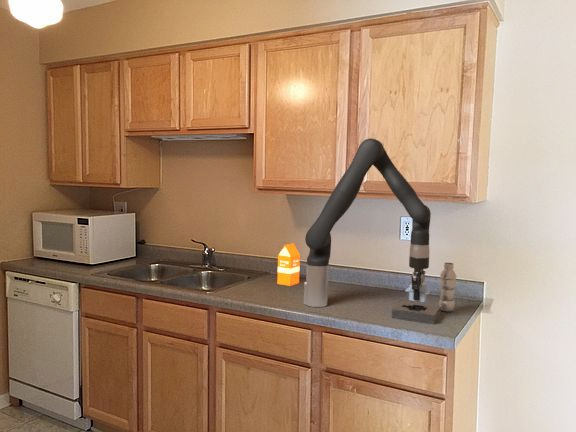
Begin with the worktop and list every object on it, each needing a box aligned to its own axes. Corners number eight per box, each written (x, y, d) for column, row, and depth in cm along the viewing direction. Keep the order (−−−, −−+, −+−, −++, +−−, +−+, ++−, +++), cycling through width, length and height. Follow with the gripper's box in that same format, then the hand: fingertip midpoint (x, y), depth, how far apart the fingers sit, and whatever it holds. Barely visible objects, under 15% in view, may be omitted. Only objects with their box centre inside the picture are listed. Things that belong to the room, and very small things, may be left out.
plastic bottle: (454, 309, 206) (456, 262, 204) (455, 313, 199) (457, 265, 197) (438, 308, 207) (440, 261, 206) (438, 312, 201) (441, 264, 199)
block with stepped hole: (391, 317, 191) (392, 309, 191) (400, 309, 204) (401, 301, 203) (433, 324, 184) (434, 315, 184) (440, 315, 196) (440, 306, 196)
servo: (405, 299, 194) (405, 281, 193) (407, 297, 197) (408, 279, 197) (428, 302, 189) (429, 284, 189) (430, 300, 193) (431, 282, 192)
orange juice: (299, 282, 250) (300, 243, 248) (290, 285, 242) (291, 245, 241) (286, 280, 254) (287, 242, 252) (276, 283, 246) (277, 244, 245)
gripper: (413, 252, 200) (412, 293, 201) (405, 257, 187) (403, 301, 189) (432, 254, 196) (431, 296, 198) (425, 259, 184) (423, 304, 185)
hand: (417, 298), depth 193 cm, fingers closed on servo, 4 cm apart
